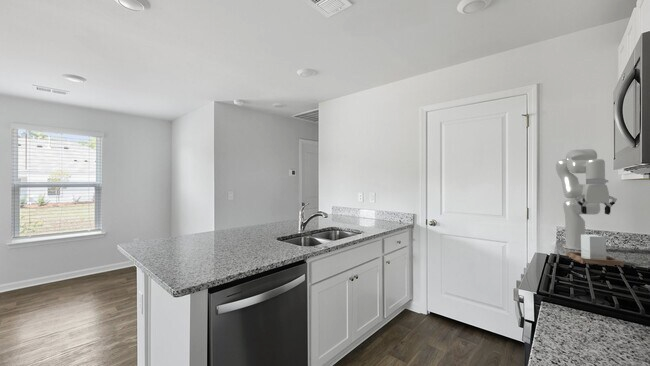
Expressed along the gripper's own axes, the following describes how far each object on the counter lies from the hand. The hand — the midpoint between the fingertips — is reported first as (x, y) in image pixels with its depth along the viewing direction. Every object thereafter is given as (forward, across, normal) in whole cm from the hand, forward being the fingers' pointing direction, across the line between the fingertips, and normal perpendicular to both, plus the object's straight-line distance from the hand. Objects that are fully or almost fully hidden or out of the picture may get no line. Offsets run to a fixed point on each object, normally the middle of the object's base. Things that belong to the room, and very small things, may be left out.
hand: (595, 213), depth 153 cm
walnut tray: (+24, +3, +5) cm, 25 cm away
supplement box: (+24, +3, +5) cm, 25 cm away
